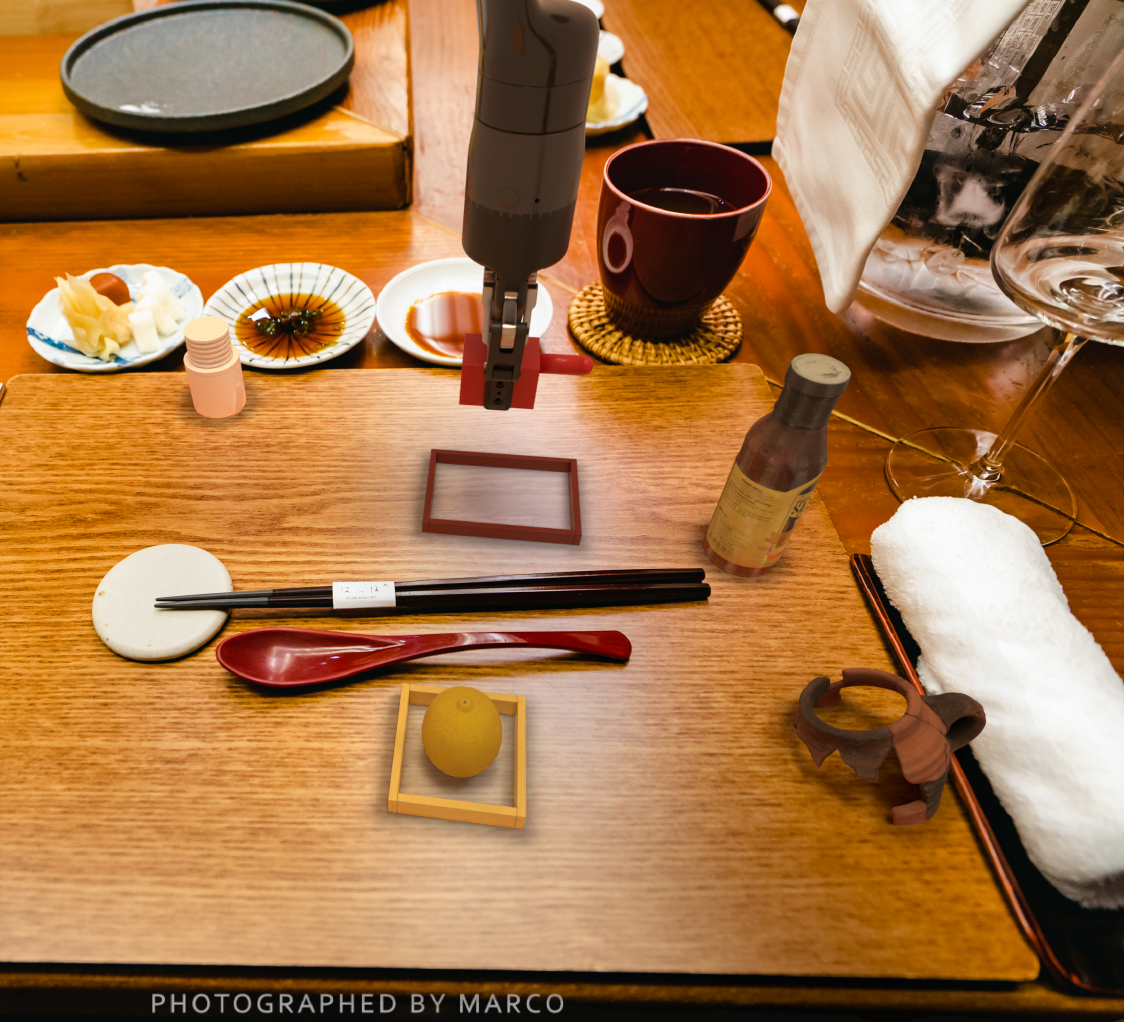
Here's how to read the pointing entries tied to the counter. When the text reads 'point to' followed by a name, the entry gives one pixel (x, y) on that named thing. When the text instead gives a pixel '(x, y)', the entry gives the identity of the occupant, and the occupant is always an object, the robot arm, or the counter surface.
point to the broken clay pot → (894, 735)
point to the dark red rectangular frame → (504, 529)
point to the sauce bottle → (776, 470)
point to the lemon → (462, 731)
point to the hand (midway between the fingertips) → (497, 387)
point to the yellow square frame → (456, 808)
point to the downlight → (213, 368)
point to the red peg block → (530, 369)
